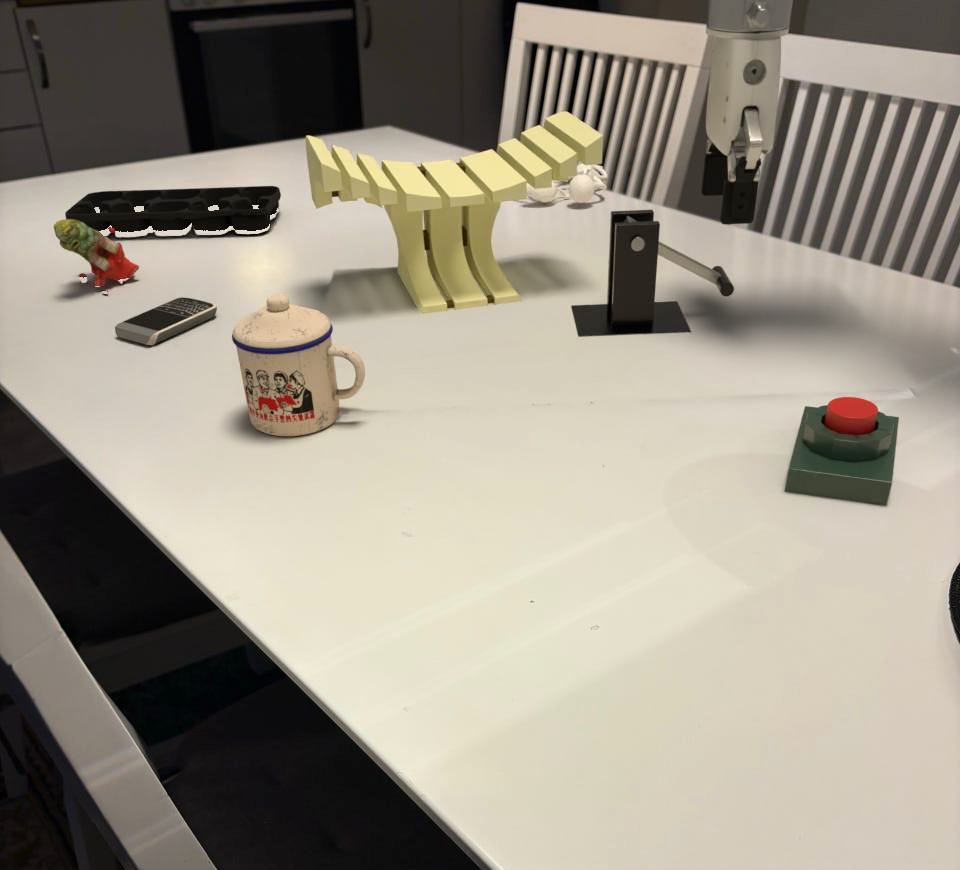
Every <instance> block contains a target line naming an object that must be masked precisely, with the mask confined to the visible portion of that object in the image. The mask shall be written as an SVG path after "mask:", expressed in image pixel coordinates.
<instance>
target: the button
mask: <svg viewBox="0 0 960 870" xmlns="http://www.w3.org/2000/svg"><path fill="white" fill-rule="evenodd" d="M826 405H827V411H826V416H825V422H824V425H825V427H826V428H827V429H830V430H832V431H835V432H837V433H840V434H848V435H864V434H870V433H872V432H873V431H874V428H875V423H876V419H877V414H878V411H879V407H878V406H877V405H876V404H875V403H874V402H872V401H870V400H868V399H865V398H862V397H856V396H841V397H840V396H839V397H836V398H833V399H831V400H830V401H829V402H828V403H827V404H826Z"/></svg>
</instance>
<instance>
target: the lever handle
mask: <svg viewBox="0 0 960 870" xmlns="http://www.w3.org/2000/svg"><path fill="white" fill-rule="evenodd" d="M624 222H639V221H637V220H635V219H633V218H631V217H629V216H627V217H626V218H625V220H624ZM658 256H659V257H662V258H663V259H665V260H668V261H669V262H671V263H673V264H675V265H677V266H679V267H681V268H683V269H685V270H686V271H689V272H691V273H693V274H695V275H696V276H698V277H700V278H703V279H704V280H706V281H708V282H710V283H712V284H714V285H715V286H716V288H717V290H718V291H719V294H721V296H723V297H726V298H727V297H730V296H732V294H734V291H735V286H734V285H733V282H732V281H731V280H730V277H729V276H728V274H727V273H726V271H725V270H724V268H723V266H721V265H715V266H713V267H712V268H710V267H709V266H707V265H705V264H703V263H701V262H699V261H697V260H695V259H694V258H691V257H690V256H688V255H686V254H684V253H682V252H680V251H678V250H676V249H675V248H672V247H670V246H669V245H667V244H665V243H663V242H661V241H659V245H658Z"/></svg>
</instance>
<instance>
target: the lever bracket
mask: <svg viewBox="0 0 960 870" xmlns="http://www.w3.org/2000/svg"><path fill="white" fill-rule="evenodd" d="M627 216H629V217H631V218H633V219H635V220H637V221H639V222H624V220H625V218H626V217H627ZM609 219H610V220H609V221H610V222H609V223H610V224H609V244H608V245H609V246H608V247H609V248H608V271H607V293H606V294H607V295H606V303H600V304H598V303H597V304H573V305H570V308H571V312H572V316H573V321H574V324H575V328H576V333H577V337H579V338H583V337H584V338H585V337H608V336H609V337H612V336H632V335H657V334H659V335H660V334H682V333H686V334H687V333H692V330H691V328H690V326H689V324H688V321H687V318H686V317H685V315H684V313H683V310H682V309H681V306H680V304H679V302H678V301H677V300H671V301H655V300H656V285H657V271H658V260H659V259H658V258H659V257H658V256H659V255H658V245H659V242H660V231H661V229H660V228H661V224H660V222H659V220H654V219H655V212H654V210H653V209H634V210H611V211H610V218H609Z"/></svg>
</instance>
